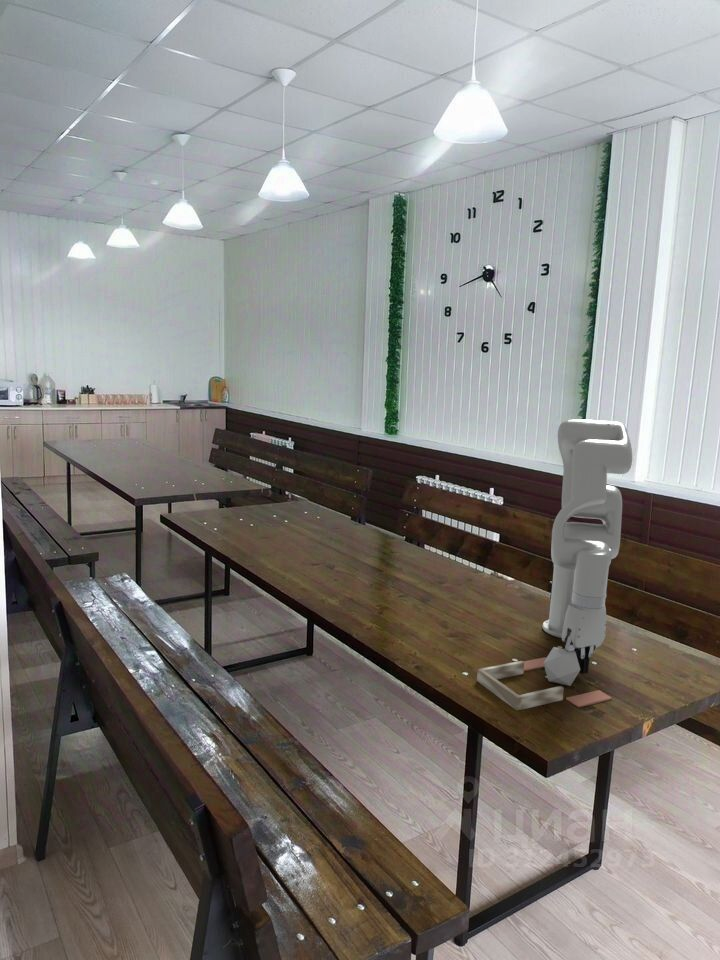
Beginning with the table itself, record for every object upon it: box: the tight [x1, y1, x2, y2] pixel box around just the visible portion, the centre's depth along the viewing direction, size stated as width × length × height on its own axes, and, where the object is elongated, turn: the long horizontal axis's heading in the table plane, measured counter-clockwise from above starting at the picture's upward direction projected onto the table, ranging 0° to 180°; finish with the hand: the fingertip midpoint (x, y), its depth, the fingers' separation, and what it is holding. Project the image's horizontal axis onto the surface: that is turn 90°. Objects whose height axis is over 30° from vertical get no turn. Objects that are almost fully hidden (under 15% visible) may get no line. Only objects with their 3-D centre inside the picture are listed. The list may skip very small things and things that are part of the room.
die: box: [543, 646, 580, 687], centre depth 170 cm, size 8×9×10 cm
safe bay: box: [476, 660, 565, 712], centre depth 165 cm, size 13×15×3 cm
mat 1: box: [522, 656, 547, 672], centre depth 179 cm, size 10×4×1 cm, turn 116°
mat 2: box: [565, 689, 613, 708], centre depth 163 cm, size 10×4×1 cm, turn 116°
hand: (580, 671), depth 173 cm, fingers closed
